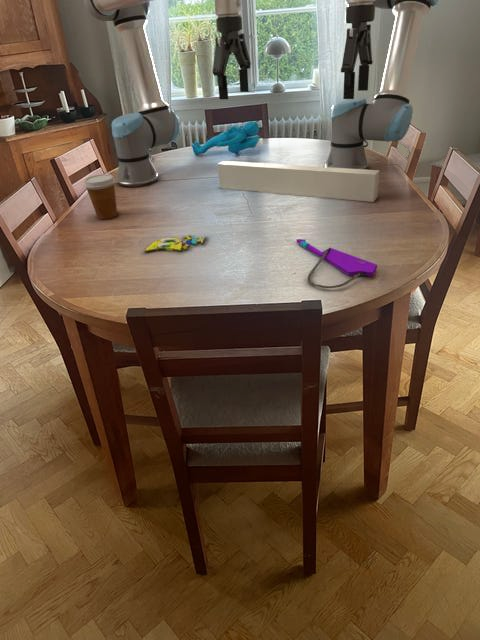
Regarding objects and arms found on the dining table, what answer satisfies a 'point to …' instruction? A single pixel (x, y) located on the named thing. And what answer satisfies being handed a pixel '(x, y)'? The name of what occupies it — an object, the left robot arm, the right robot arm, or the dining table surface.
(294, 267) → the dining table surface
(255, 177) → the bar
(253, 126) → the toy
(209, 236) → the dining table surface
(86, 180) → the disposable coffee cup
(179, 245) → the toy
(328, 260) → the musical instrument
